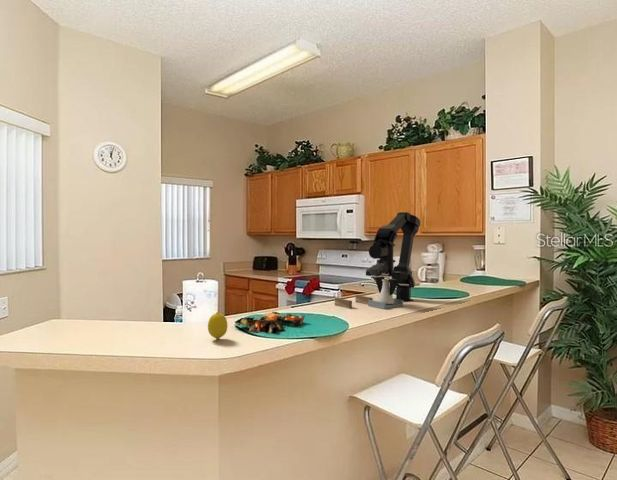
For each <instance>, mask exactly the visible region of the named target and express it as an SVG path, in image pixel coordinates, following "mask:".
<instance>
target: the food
mask: <svg viewBox="0 0 617 480" xmlns="http://www.w3.org/2000/svg"><path fill="white" fill-rule="evenodd" d="M305 317H306V315H300V316H299V315H294V314H291V313H286V314H284V315H283V316H282V315H281V314H280V312H277V311H271V312H269V311H268V312H265V313H264V314H263V315H261V317H260V318H255V316H254V317H241V318H239V319H237V320H235V321H234V323H235V324H236V325H237V326H241V325H242V326H246V328H247V329H249V330H248V332H250V333H256V334H257V333H259V334H260V333H268V334H272V335H273V334H275V335H276V334H277V332H278V333H279V332H280V333H282V332H284V331H285V330H284V329H287V328H286V326H284V325H283V323H284V322H287V321H288V322H292V326H291V327H292V328H294V329H295V327H297V326H300V325H303V324H304V320H305ZM305 324H307V322H305Z"/></svg>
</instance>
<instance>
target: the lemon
mask: <svg viewBox="0 0 617 480" xmlns="http://www.w3.org/2000/svg"><path fill="white" fill-rule="evenodd" d="M207 330H208V333H209V335H210V336H211V337H213V338H214V339H215V340H217V341H218V340H220V339H221V338H222V337H224V336H225V335H226V334H227V331H228V321H227V318H226V316H225V315H224V314H223V313H220V312H218V311H217V312H215V313H214V314H212V315H211V316H210V317H209V320H208V321H207Z"/></svg>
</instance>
